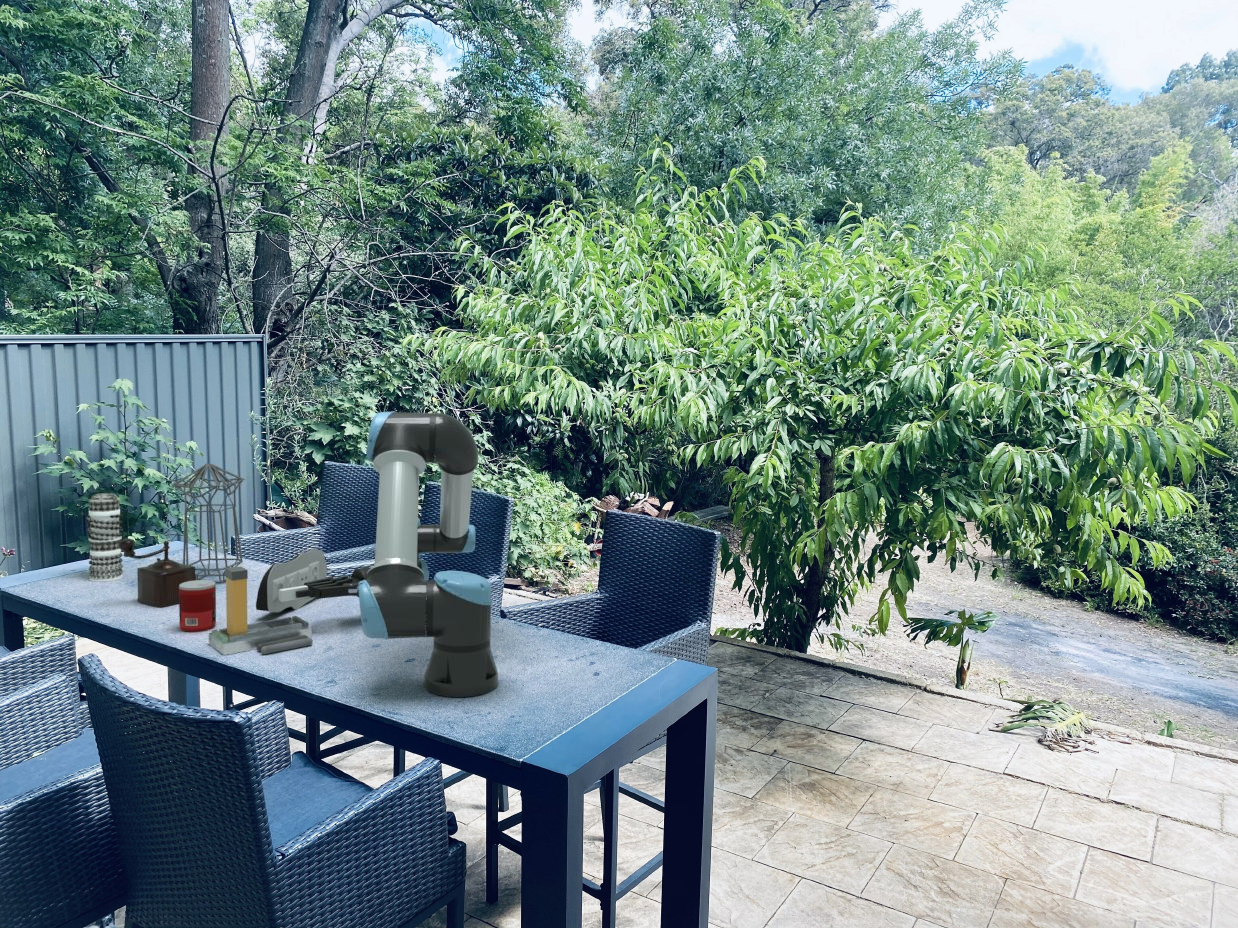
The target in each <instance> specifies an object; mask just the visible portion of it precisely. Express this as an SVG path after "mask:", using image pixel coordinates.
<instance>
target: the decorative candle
mask: <svg viewBox="0 0 1238 928" xmlns="http://www.w3.org/2000/svg"><path fill="white" fill-rule="evenodd" d="M120 500H121V498H119V497H118V496H117V495H116V494H115V493H113V492H111V493H110V492H108V493H107V492H103V493H95V494H92V496H91V497H90V499H87V501H88V504H89V505H88V506H89V509H88V515H87V516H86V517H85V519H86V520H87V522H86V526H87V527H88V528H87V530H86V531H87V532H88V533H87V534H86V535H87V538H88V541H89V542H90V543H89V544H90V549H89V556H88V559H89V561H88V564H89V565H90V566H89V567H88V571H90V572H88V576H89V581H91V582H96V583H97V582H100V583H101V582H104V583H105V582H113V581H117V580H121V579H123V577H124V575H123V572H124V571H123V568H124V565H123V564H122V562H123V561H124V560H123V558H122V557H124V554H123V553H122V550H121V549H120V548H119V547H118V543H119V542H120V541H121V540H123V537H122V536H123V533H122V532H120V530H122V529H123V526H121V525H122V524H123V523H124V522H123V521H122V520H120V519H121V518H123V517H124V515H123V514H122V513H121V508H120Z"/></svg>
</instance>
